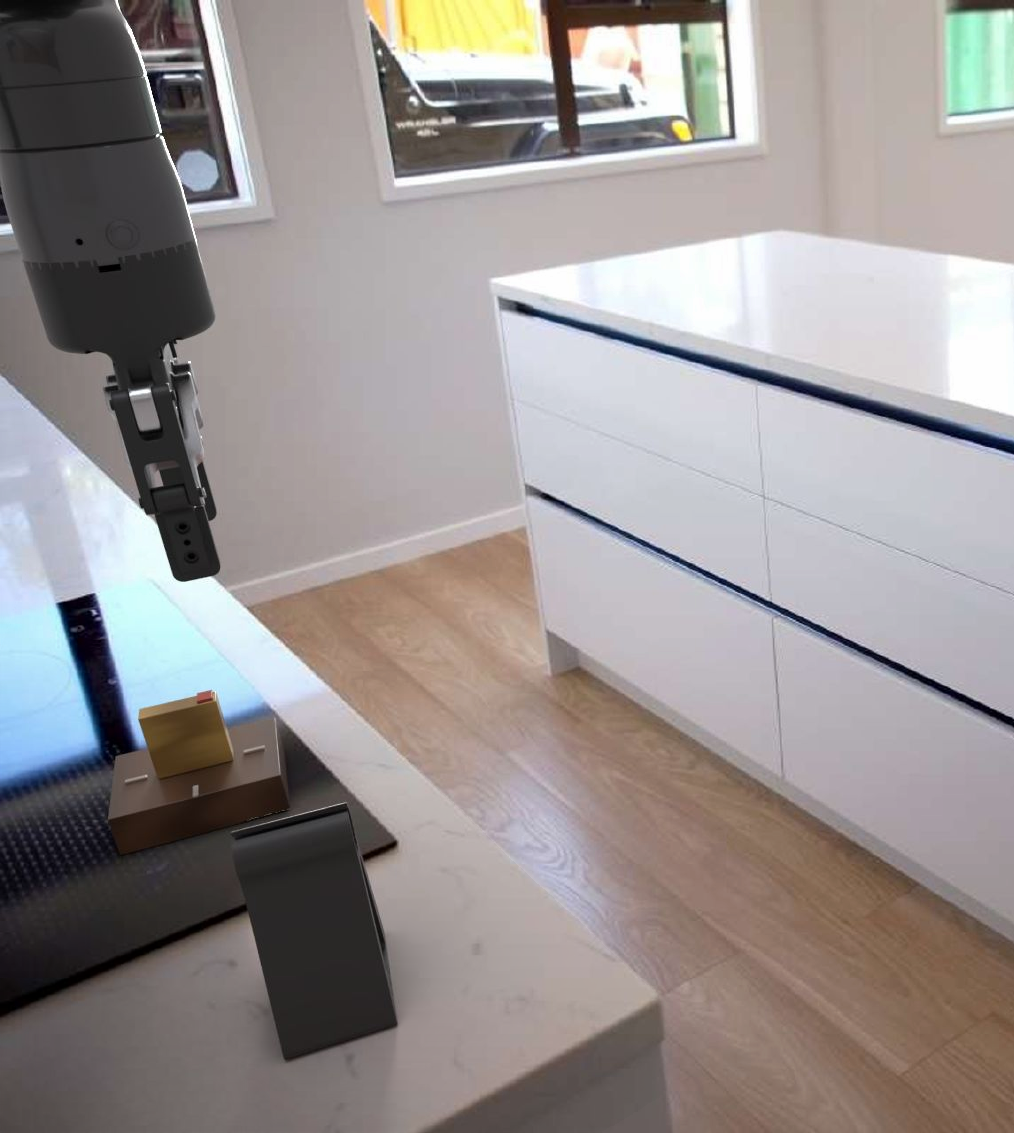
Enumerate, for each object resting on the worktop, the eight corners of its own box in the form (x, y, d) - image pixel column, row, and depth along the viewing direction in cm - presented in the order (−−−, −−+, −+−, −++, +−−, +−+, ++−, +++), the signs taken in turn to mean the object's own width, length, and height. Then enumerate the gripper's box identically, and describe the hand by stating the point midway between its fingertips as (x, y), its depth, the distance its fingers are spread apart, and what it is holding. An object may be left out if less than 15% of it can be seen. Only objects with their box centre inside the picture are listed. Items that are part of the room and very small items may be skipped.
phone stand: (398, 1027, 72) (352, 852, 67) (283, 1062, 70) (228, 885, 65) (385, 930, 80) (343, 766, 75) (281, 959, 78) (231, 793, 73)
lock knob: (157, 779, 91) (136, 716, 89) (158, 768, 93) (137, 705, 91) (233, 760, 93) (215, 697, 91) (233, 750, 95) (215, 687, 92)
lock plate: (120, 856, 88) (106, 818, 87) (127, 789, 96) (115, 753, 95) (290, 810, 92) (280, 773, 91) (284, 749, 100) (274, 714, 99)
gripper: (34, 230, 67) (125, 520, 73) (2, 275, 55) (114, 616, 62) (192, 212, 69) (266, 493, 76) (194, 252, 58) (281, 580, 64)
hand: (198, 547), depth 69 cm, fingers open, 8 cm apart
